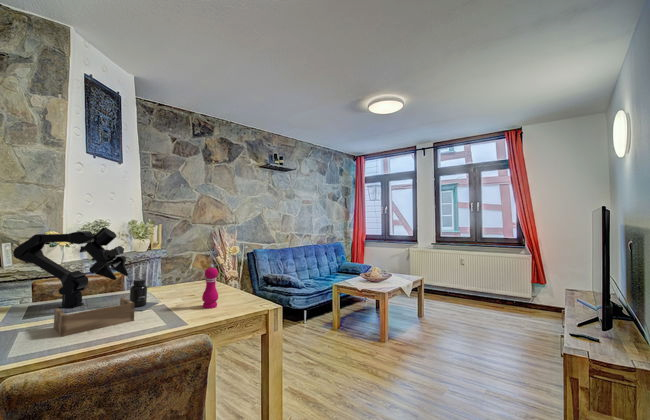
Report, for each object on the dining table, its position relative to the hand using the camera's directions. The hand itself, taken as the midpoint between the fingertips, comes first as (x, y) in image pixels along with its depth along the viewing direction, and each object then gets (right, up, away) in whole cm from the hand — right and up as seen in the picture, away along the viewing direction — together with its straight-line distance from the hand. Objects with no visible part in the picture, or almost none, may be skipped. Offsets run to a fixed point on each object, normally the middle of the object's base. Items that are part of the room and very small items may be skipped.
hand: (121, 277), depth 140 cm
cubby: (+5, -13, -23) cm, 26 cm away
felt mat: (+7, -14, 0) cm, 15 cm away
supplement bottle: (+7, -13, 0) cm, 15 cm away
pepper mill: (+39, -15, +3) cm, 42 cm away
